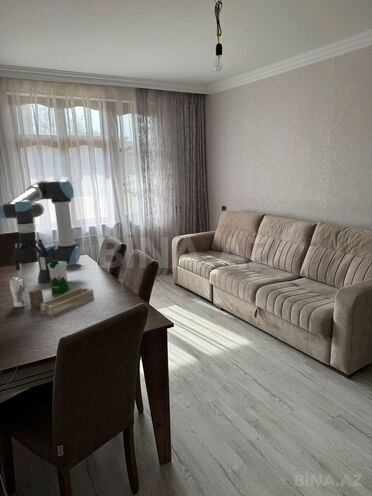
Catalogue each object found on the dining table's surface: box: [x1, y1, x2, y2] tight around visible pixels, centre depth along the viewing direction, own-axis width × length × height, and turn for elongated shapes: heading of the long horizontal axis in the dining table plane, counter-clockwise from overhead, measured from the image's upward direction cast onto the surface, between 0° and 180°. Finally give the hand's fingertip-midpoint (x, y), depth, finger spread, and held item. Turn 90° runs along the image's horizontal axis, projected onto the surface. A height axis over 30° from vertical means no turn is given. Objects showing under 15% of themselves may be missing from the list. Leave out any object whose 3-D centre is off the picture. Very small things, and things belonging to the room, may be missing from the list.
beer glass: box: [9, 276, 27, 308], centre depth 185 cm, size 7×7×15 cm
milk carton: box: [47, 260, 70, 295], centre depth 203 cm, size 9×9×20 cm
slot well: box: [40, 286, 95, 317], centre depth 184 cm, size 9×27×5 cm, turn 150°
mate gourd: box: [66, 241, 81, 269], centre depth 260 cm, size 16×14×20 cm
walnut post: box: [28, 288, 45, 312], centre depth 180 cm, size 4×4×10 cm
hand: (32, 272), depth 177 cm, fingers open, 13 cm apart
